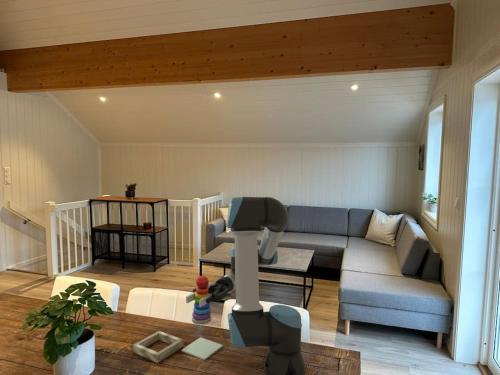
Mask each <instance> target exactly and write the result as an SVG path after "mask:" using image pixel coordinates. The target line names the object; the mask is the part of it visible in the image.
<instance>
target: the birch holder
mask: <svg viewBox="0 0 500 375" xmlns="http://www.w3.org/2000/svg"><path fill="white" fill-rule="evenodd" d="M158 341H161V342H164V343H166V344H169V345H167V346H166V347H164V348H162V349H160V351H155V350H153V349H150V348H148V347H149V346H150V345H153V344H154V343H155V342H158ZM181 348H184V339H183V338H180V337H178V336H174V335H172V334H169V333H166V332H163V331H161V330H157V331H156V332H154V333H153V334H150V335H148V336H147V337H144V338H143V339H142V340H140V341H137V342H135V343H134V344H132V353H134V354H137V355H139V356H140V357H143V358H146V359H147V360H150V361H151V362H154V363H160V362H162V361H163V360H164V359H166V358H168V357H169V356H171V355H172V354H174V353H176V352H177V351H179V350H180V349H181Z"/></svg>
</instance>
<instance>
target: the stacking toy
mask: <svg viewBox="0 0 500 375" xmlns="http://www.w3.org/2000/svg"><path fill="white" fill-rule="evenodd" d="M195 284H196V286H197V287H198V288H197V287H196V288H197V289H196V292H197V293H196V294H195V297H196V298H195V300H194V304H193V309H192V313H191V316H192V317H191V321H192V323H193V324H195V325H199V326H201V325H202V326H203V325H207V324H210V323H211V321H212V316H211V302H210V303H207V304H205V305H204V306H202V307H199V300H200V299H202V298H204V297H206V296H208V295H210V294H208V288H207V286H208V284H209V278H208V277H207V276H206V275H199V276H198V277H197V278H196V281H195Z"/></svg>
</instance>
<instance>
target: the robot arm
mask: <svg viewBox="0 0 500 375" xmlns="http://www.w3.org/2000/svg"><path fill="white" fill-rule="evenodd" d="M289 220H290V217H289V213H288V210H287V208H286V206H285V205H284V204H283V203H282V202H281V201H280V200H278V199H276V198H274V197H271V196H265V197H264V196H240V197H239V196H238V197H232V198H231V199H230V200H229V205H228V210H227V218H226V228H227V229H230V234H231V235H232V236H233V237H234V245H232V246H231V248H230V249H231V250H230V273H228V274H226V275H223V276H222V277H219V278H218V279H217V280H216V281H215V283H212V284H209V283H208V286H207V288H208V294H209V295H208V296H206V297H204V298H202V299H200V300H199V307H202V306H204V305H205V304H207V303H210V304H211V303H212V302H216V303H218V302H220V301H222V300H223V299H225V298H226V297H228V296H231V295H232V292H233V291H235V302H234V303H235V304H233V306H232V307H231V312H229V313H227V320H228V329H229V335H230V340H231V345H232V346H233V347H234V348H244V349H247V348H257V347H258V348H259V347H268V350H267V354H266V356H265V359H264V363H263V370H264V374H265V375H306V364H305V363H306V362H305V361H304V357H303V354H302V351H301V349H302V325H303V323H302V315H301V313H300V312H299V310H297V309H295V308H294V307H292V306H289V305H285V304H274V305H272V306H270V307H269V309H268V311H264V306H263V305H262V304H261V303H260V291H259V290H260V289H259V287H260V286H259V266H271V265H276V264H278V262H279V261H278V259H279V253H278V250H277V248H278V245H279V242H280V240H281V237H282V234H283V232H284V231H286V230H287V228H288V225H289ZM262 228H264V229H263V234H262V237H261V241H260V245H259V248H258V237H259V236H260V234H261V233H262ZM197 288H198V286H197V287H196V288H193V289H192V293H190V294H189V295H186V296H185V303H186V304H189V303H192V302H193V301H195V298H196V297H195V294H196V293H197V292H196V289H197Z"/></svg>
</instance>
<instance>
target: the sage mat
mask: <svg viewBox="0 0 500 375" xmlns="http://www.w3.org/2000/svg"><path fill="white" fill-rule="evenodd" d="M223 347H224V345H223V344H222V343H218V342H216V341H212V340H210V339H206V338H204V337H199V338H197V339H196V340H195V341H193V342H191V343H189V344H188V345H187V346H185V347H183V348H182V349H181V350H180V351H181V352H183V353H185V354H186V355H190V356H192V357H195V358H198V359H200V360H202V361H206V360H207V359H208V358H210V357H211V356H212V355H214V354H215V353H216V352H219V350H221V349H222V348H223Z"/></svg>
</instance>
